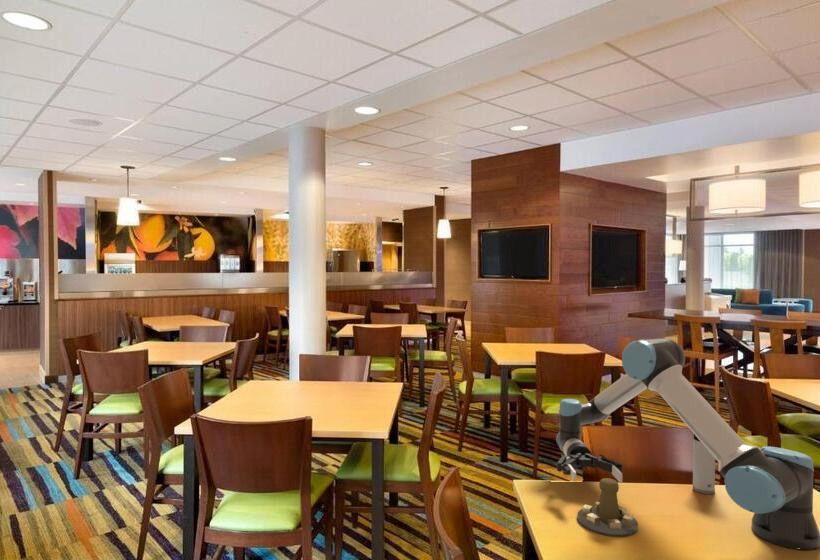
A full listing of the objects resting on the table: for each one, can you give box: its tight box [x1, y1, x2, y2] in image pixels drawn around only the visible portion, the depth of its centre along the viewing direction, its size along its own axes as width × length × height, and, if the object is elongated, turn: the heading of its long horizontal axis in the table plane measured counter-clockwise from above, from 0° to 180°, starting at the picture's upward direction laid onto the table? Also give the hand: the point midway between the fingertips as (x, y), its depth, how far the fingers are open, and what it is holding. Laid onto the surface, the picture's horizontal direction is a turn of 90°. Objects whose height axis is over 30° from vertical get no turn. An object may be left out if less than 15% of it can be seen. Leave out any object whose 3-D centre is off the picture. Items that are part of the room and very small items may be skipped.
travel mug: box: [692, 433, 716, 495], centre depth 167 cm, size 6×7×20 cm
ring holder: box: [577, 501, 639, 538], centre depth 145 cm, size 16×16×3 cm
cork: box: [598, 477, 620, 523], centre depth 145 cm, size 6×6×11 cm
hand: (597, 477), depth 153 cm, fingers open, 13 cm apart
